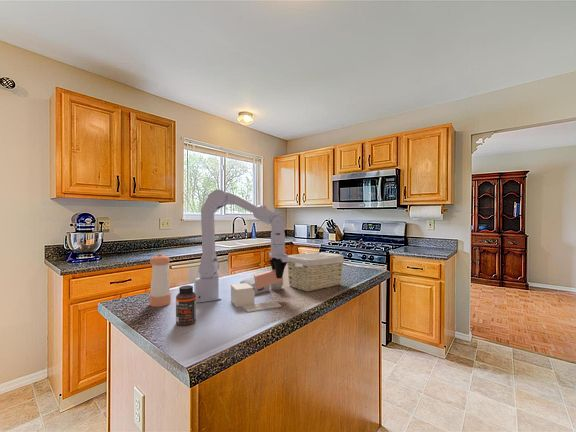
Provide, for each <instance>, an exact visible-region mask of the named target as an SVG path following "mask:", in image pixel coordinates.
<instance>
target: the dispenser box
mask: <svg viewBox="0 0 576 432" xmlns="http://www.w3.org/2000/svg"><path fill="white" fill-rule="evenodd" d="M255 295H256V294H255V292H254V287H253V286H252V285H250V284H249V283H241V284H240V283H234V284H230V302H231V303H232V304H233V305H234V306H235V307H236V308H238V307H239V308H240V307H242V306H246V305H253V304H256V303H255V299H256V297H255Z"/></svg>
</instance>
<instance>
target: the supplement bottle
mask: <svg viewBox="0 0 576 432" xmlns="http://www.w3.org/2000/svg"><path fill="white" fill-rule="evenodd" d="M196 320H197V302H196V294H195V293H194V286H193V285H188V284H187V285H182V286H179V293H177V295H176V296H175V324H176V325H177V326H182V327H183V326H191V325H192V324H195V323H196Z"/></svg>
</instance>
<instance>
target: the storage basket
mask: <svg viewBox="0 0 576 432" xmlns="http://www.w3.org/2000/svg"><path fill="white" fill-rule="evenodd" d="M286 257H288V262H287V264H286V266H287V273H288V285H289V286H290V287H292V288H295V289H298V290H300V291H305V292H312V291H316V290H320V289H326V288H331V287H336V286H340V285H341V283H342V277H343V276H342V275H343V273H342V272H343V265H344V259H345V258H344V257H345V256H344V254H339V253H332V252H325V251H321V252H317V251H316V252H306V253H297V254H289V255H288V254H287V256H286Z"/></svg>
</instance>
